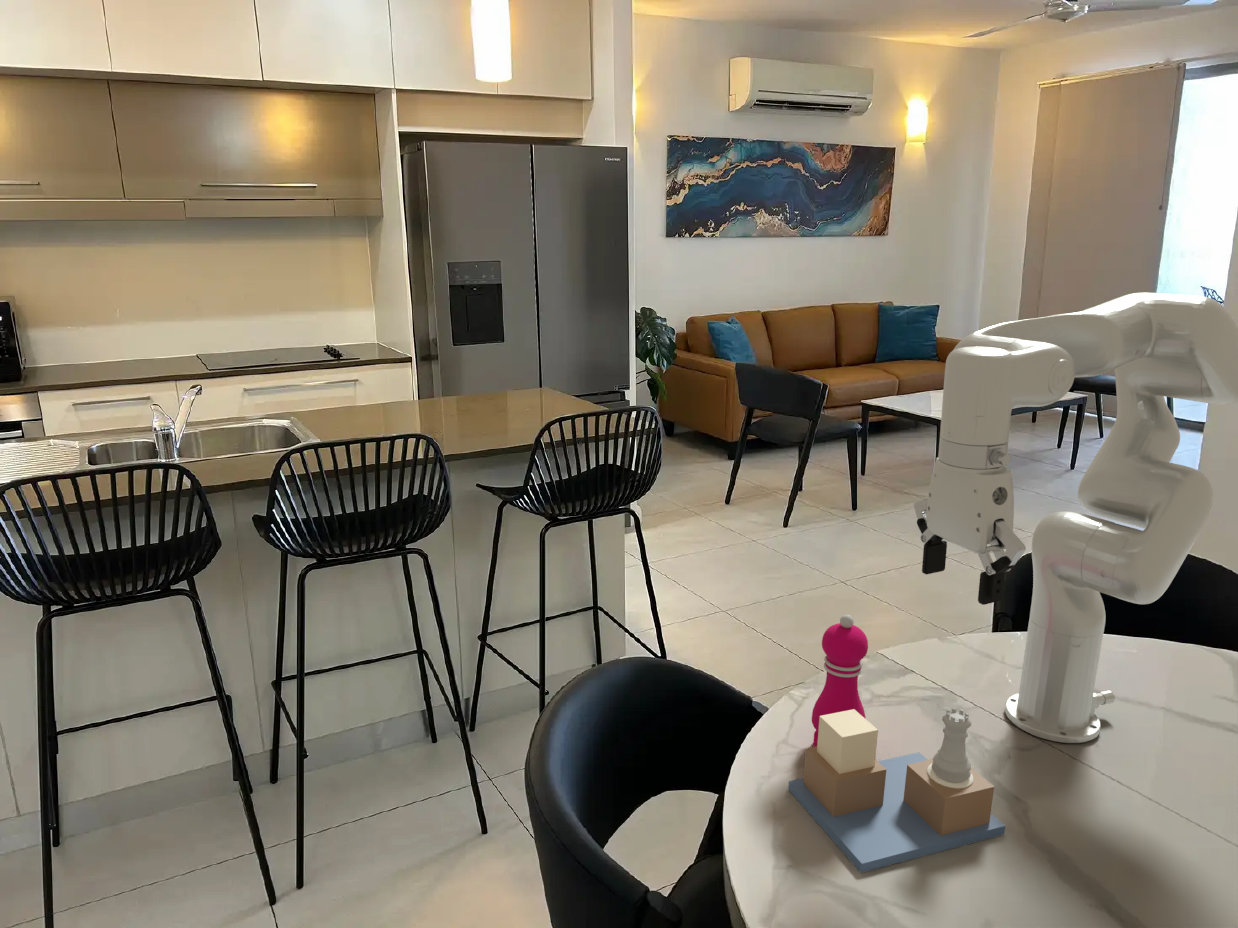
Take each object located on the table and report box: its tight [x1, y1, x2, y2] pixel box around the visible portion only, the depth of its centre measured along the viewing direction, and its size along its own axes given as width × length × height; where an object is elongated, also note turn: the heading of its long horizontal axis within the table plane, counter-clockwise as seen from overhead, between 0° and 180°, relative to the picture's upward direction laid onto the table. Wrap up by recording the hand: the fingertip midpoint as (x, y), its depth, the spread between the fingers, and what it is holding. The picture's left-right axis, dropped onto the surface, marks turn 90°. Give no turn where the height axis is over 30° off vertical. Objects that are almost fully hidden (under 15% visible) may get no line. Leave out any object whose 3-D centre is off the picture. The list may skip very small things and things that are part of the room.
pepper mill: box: [811, 614, 869, 747], centre depth 119 cm, size 7×7×20 cm
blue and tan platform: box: [787, 709, 1006, 874], centre depth 107 cm, size 20×16×11 cm
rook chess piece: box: [932, 708, 972, 783], centre depth 105 cm, size 4×4×8 cm
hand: (960, 586), depth 109 cm, fingers open, 9 cm apart
